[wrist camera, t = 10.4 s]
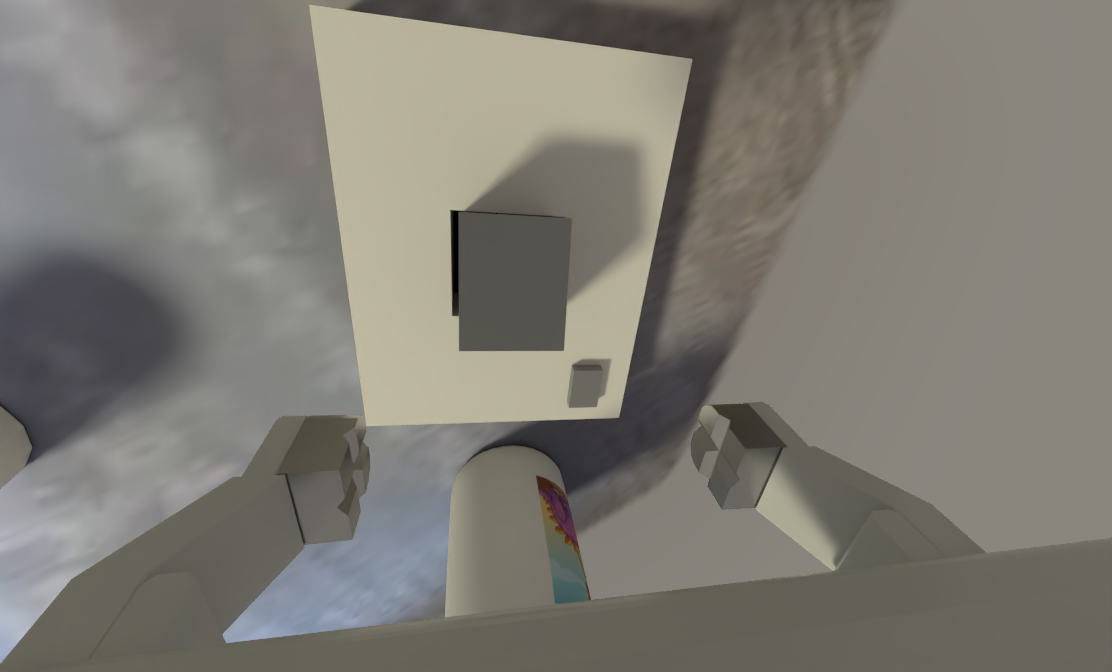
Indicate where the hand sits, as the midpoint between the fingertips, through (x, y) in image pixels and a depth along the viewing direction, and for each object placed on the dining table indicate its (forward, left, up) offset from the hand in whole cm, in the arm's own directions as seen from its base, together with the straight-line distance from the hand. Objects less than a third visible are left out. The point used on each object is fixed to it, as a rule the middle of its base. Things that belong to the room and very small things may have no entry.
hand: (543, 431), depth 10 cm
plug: (+1, 0, -14) cm, 14 cm away
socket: (0, 0, -15) cm, 15 cm away
